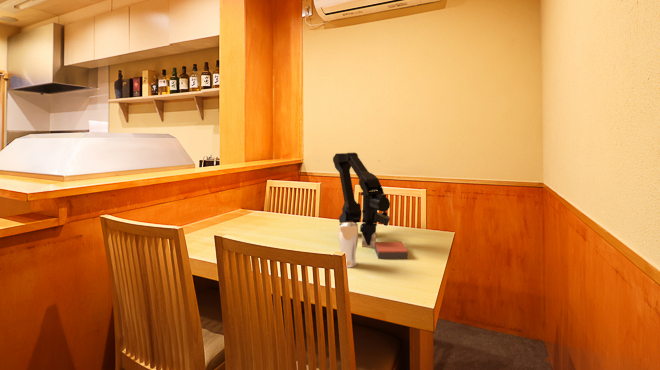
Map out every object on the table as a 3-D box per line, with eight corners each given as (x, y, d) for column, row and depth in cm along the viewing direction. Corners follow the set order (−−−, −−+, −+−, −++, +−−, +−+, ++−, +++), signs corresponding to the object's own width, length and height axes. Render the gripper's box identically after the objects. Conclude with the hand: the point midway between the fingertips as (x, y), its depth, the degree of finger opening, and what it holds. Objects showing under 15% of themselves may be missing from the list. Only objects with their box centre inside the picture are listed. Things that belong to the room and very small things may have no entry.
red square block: (378, 260, 125) (378, 251, 125) (374, 250, 136) (374, 242, 136) (407, 260, 125) (407, 251, 125) (401, 250, 136) (401, 241, 135)
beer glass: (345, 259, 124) (345, 220, 122) (361, 263, 120) (361, 223, 118) (334, 265, 119) (334, 224, 117) (351, 269, 115) (351, 227, 113)
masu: (361, 247, 139) (362, 235, 138) (363, 242, 144) (363, 231, 143) (375, 247, 138) (375, 236, 137) (375, 243, 143) (376, 232, 142)
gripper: (388, 212, 128) (388, 251, 130) (389, 203, 146) (388, 237, 148) (360, 211, 130) (359, 249, 132) (364, 202, 148) (363, 236, 150)
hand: (369, 242), depth 141 cm, fingers closed on masu, 6 cm apart
